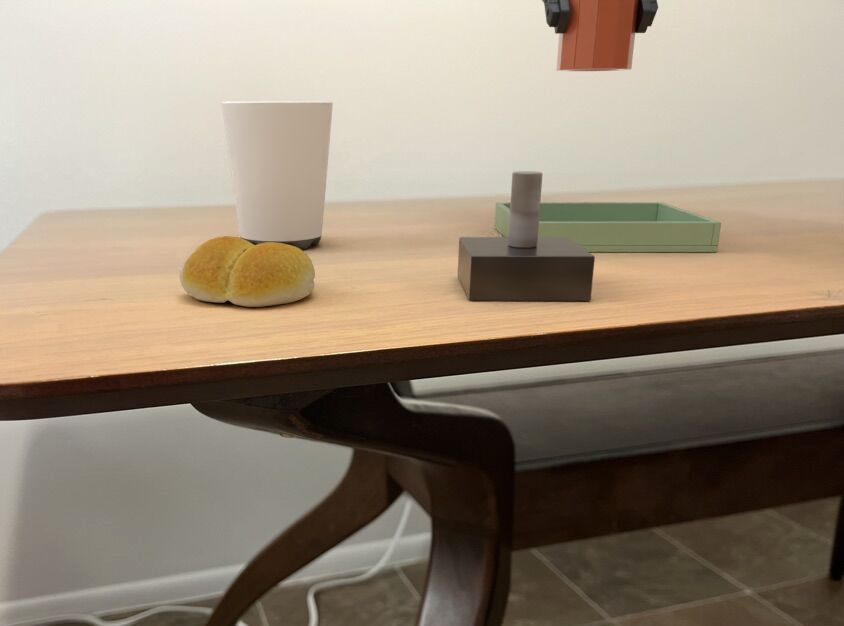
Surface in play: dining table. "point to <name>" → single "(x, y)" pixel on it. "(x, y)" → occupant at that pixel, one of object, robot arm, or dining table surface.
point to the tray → (622, 226)
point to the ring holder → (525, 256)
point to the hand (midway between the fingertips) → (603, 24)
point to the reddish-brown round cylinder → (598, 36)
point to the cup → (279, 168)
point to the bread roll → (247, 272)
